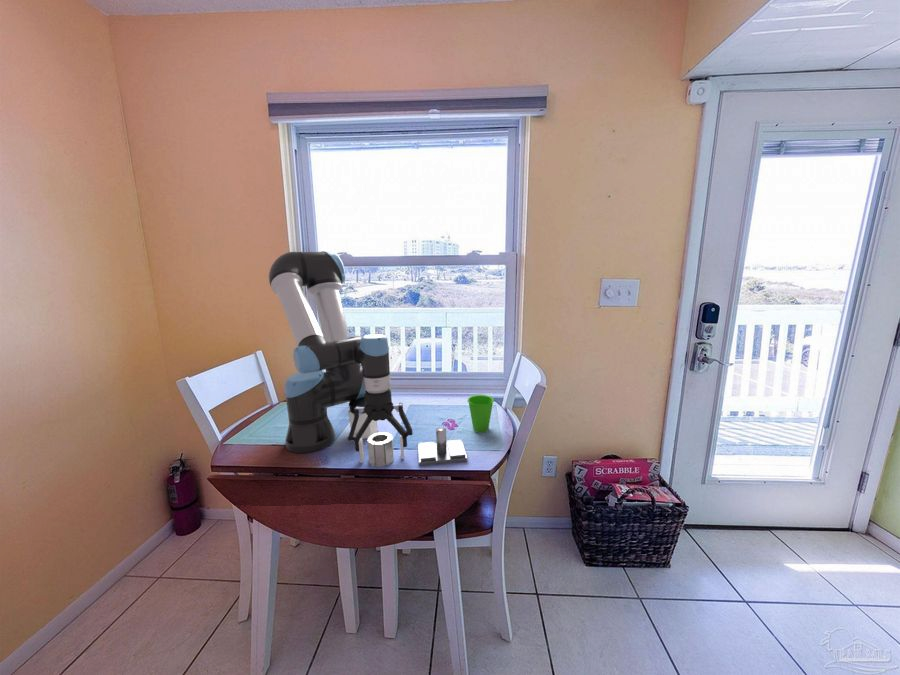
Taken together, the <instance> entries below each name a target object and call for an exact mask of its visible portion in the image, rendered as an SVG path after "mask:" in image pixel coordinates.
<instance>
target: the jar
mask: <svg viewBox="0 0 900 675" xmlns="http://www.w3.org/2000/svg"><path fill="white" fill-rule="evenodd" d="M356 406H359V407H364V406H365V397H363V398H360V399H357V400H352V401H350V402H348V408H349V410H348V412H347V413H348V419H349V428H351V427H352V424H353V420H354V410H355V407H356ZM367 416H368V415H367V414H366V413H365V412H364V411H363V412H362V414H361V415H359V419H358V422H357V425H356V428H355V432H354V435H356V434H357V433H358V431H359V430H360V428H361V426H362V425H363V423H364V422H365V420H366V418H367ZM375 433H376V434H377V433H379V427H378V421H374V420H372V421H371V423H370V424H369V425H368V427H367V428H366V430H365V432H364V433H363V435H362V436H361V438H362V440H364V439H368V437H369V436H371V435H373V434H375Z"/></svg>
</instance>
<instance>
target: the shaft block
mask: <svg viewBox="0 0 900 675" xmlns="http://www.w3.org/2000/svg"><path fill="white" fill-rule="evenodd" d="M435 429H436V430H435V434H436V435H435V436H436V437H435V438H436V441H435V442H434V441H427V442H419V443H418V444H417V452H418V466H419V467H423V466H424V467H425V466H432V465H433V466H434V465H445V464H456V463H465V462H467V463H468V455H467V452H466V449H465V447H464V446H465V445H464V442H463V440H462V439H451V440H447V428H446V427H444V426H440V427H437V428H435Z"/></svg>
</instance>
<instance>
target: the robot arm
mask: <svg viewBox="0 0 900 675" xmlns="http://www.w3.org/2000/svg"><path fill="white" fill-rule="evenodd" d="M345 273H346V270H345V265H344V263H343V261H342V259H341V257H340V256H339V255H338V254H336V253H335V252H332V251H323V250H322V251H288V252H285V253H283V254H281V255H280V256H278V257H277V258H276V259H275V260H274V262H272V264H271V266H270V268H269V273H268V283H269V286H270V288H271V290H272V292H273V293H274V294H275V295H277V297H278V299H279V302H280V304H281V307H282V309H283V312H284V314H285V316H286V319H287V320H286V321H287V322H288V324H289V325H288V326H290V329H291V333H292V334H293V338H294V340H295V343H296V344H297V346H296V347H295V348H294V349H293V352H292V353H293V362H294V366H295V369H296V370H297V372H296V373H294V374H292V375H290V376H289V377H288V378H287V379H286V380H285V382H284V397H285V399H286V400H285V401H286V406H287V407H286V408H287V416H288V427H287V432H286V435H285V447H286V448H285V449H287V450H288V451H290V452H291V453H294V454H295V453H296V454H308V453H312V452H317V451H319V450H322V449H324V448H325V449H326V448H327V447H328V446H329V445H331V444H332V443H334V441H335V439H336V431H335V428H334V427H333V424H332V422H331V421H330V418H329V417H328V411H327V410H328V408H332V407H335V406H339V405H342V404H346V403H349V402H350V401H352V400H357V399H360V398H363V397H365V406H364V407H359V406H356V407H355V410H354V420H353V424H352V427H350V431H349V434H348V437H347V440H348V441H349V442H350V441H352V442H353V443H354V447H355V452H356V453H357V452H359V458H360V459H359V460H360V461H359V462H360V463H361V464H364V461H365V454H364V452H365V451H364V439H362V438H361V436H362V435H363V433H364V432H365V430H366V428H367V427H368V425H369V424H370V423H371V421H372V420H374V421H377V422H378V421H387V422H389V424H391V426H393V428H394V429H395V430H396V431H397V432H398V433H399V443H400V444H399V445H400V458H401V460H404V459H405V455H404V454H405V451H404V448H407V446H408V436H409V437H410V436H413V428H412V426H411V424H410V421H409V419H408V417H407V415H406V413H405V411H404V403H403V402H398V404H397V403H396V404H394V403H393V402H392V401H393V400H392V389H391V386H392V384H391V370H390V369H391V368H390V346H389V343H388V342H389V340H388V337H387V336H386V335H384V334H379V333H371V334H365V335H362V336H361V335H351V336H350V334H349V330H348V325H347V321H346V320H347V319H346V317H345V316H346V315H345V314H344V313H345V312H344V309H343V308H344V307H343V305H342V298H341V295H340V291H341V289H342V287H343V284H344V282H345V281H346V274H345ZM303 287H306V288H307V291H308V293H309V294H311V296H313V297H314V298H313V299H314V302H315V307H316V311H317V316H318V321H319V323H318V321H317V318H316V316H315V314H314V312H313V309H312V307H311V304H310V303H309V300H308V298H307V296H306V293H305V292H304V290H303ZM319 324H320V325H319ZM324 370H325V372H323V371H324ZM394 410H395V411H396V413H398V416H399V418H400V419H401V421H402V423H403V425H404V427H403V426H402V424H400V422H399V421H398V420H397V419H396V418H395V416H394V414H393V411H394ZM363 411H364V412H365V413H366V414H367V415H368V416H367V418H366V420H365V422H364V423H363V425H362V426H361V428H360V430H359V431H358V433H357V434H356V435H354V432H355V428H356V425H357V422H358V419H359V415H361V414H362V412H363ZM405 429H406V430H405Z"/></svg>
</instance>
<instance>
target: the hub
mask: <svg viewBox="0 0 900 675" xmlns="http://www.w3.org/2000/svg"><path fill="white" fill-rule="evenodd" d="M393 440H394V438H393V434H391V433H389V432H377V433H375V434H373V435H371V436H369V437H368V438H367V440H366V441H367V450H368V451H367V453H368V463H369V465H370V466H373V467H375V468H376V467H378V468H379V467H386V465H387V466H388V465H390V464H392V463H393V462H394V458H395V457H394V455H395V454H394V443H393V442H394V441H393Z"/></svg>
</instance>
